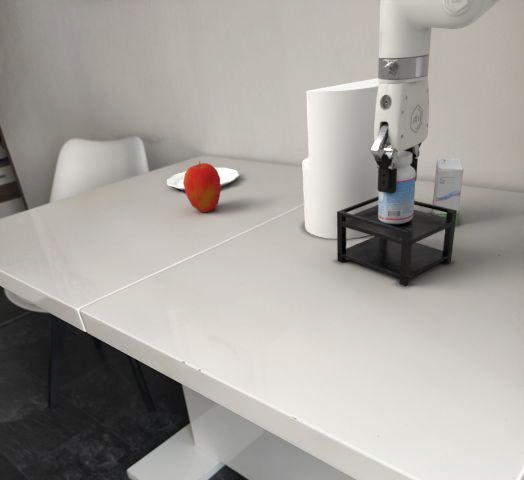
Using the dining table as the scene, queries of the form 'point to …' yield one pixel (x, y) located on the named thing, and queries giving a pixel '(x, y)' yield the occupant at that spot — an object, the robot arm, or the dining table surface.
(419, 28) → the robot arm
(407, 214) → the pill bottle
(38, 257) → the dining table surface
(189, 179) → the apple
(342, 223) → the rack
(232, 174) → the plate
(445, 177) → the ink box
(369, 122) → the cylinder
